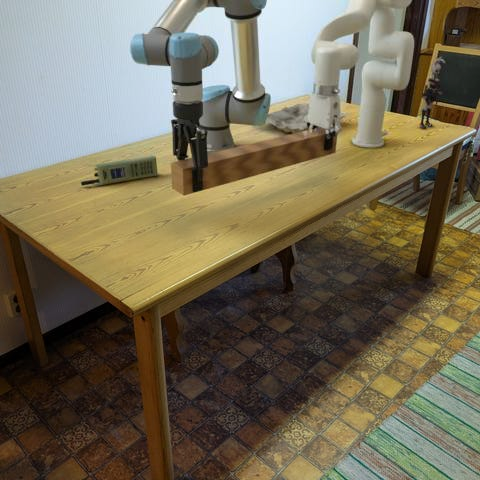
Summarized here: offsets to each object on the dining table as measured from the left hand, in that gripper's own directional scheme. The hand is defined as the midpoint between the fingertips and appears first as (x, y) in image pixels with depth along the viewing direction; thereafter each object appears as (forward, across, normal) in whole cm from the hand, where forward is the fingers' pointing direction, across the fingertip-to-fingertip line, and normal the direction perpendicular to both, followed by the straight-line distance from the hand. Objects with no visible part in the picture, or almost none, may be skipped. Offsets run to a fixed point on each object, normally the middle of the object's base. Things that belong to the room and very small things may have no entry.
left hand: (191, 186), depth 137 cm
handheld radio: (+11, -38, -4) cm, 40 cm away
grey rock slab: (+11, -48, +86) cm, 99 cm away
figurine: (+11, -16, +132) cm, 133 cm away
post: (+1, 0, +25) cm, 25 cm away
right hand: (-1, 0, +49) cm, 49 cm away
